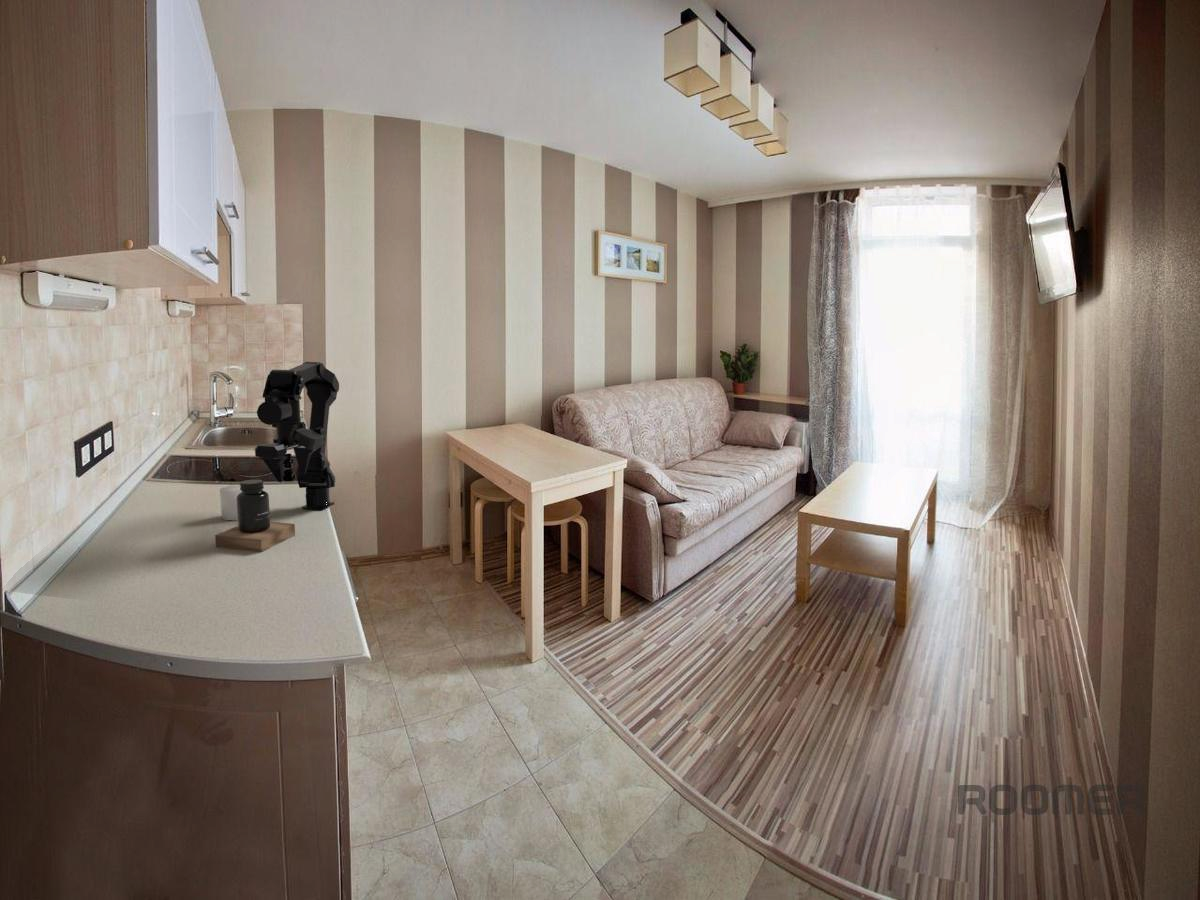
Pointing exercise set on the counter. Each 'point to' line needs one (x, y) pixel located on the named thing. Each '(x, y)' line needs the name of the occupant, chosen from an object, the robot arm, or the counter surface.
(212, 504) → the counter surface
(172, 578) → the counter surface
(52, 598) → the counter surface
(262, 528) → the supplement bottle
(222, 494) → the white rounded block
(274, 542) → the walnut plinth
